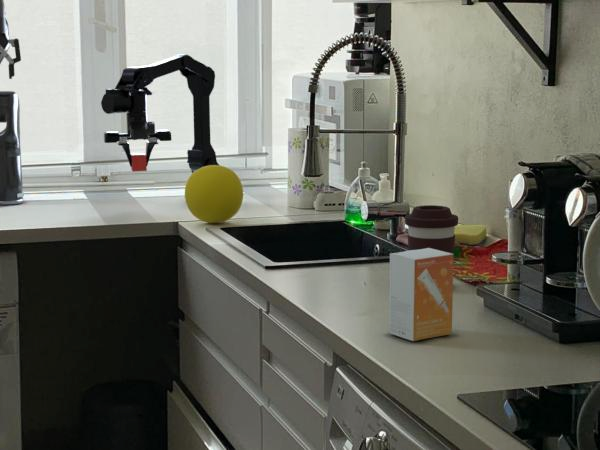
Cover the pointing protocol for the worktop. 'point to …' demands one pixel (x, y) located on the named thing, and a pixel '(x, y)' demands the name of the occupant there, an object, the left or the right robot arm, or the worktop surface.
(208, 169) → the toy
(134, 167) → the red block
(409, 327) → the small box
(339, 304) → the worktop surface
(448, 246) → the coffee cup
